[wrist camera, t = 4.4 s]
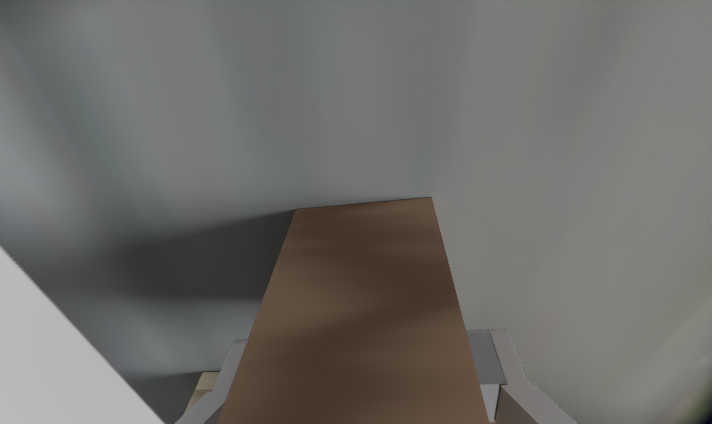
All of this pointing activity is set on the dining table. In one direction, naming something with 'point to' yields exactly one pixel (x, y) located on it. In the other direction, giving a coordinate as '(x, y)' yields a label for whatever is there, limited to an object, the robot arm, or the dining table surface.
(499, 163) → the dining table surface
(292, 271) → the plug
